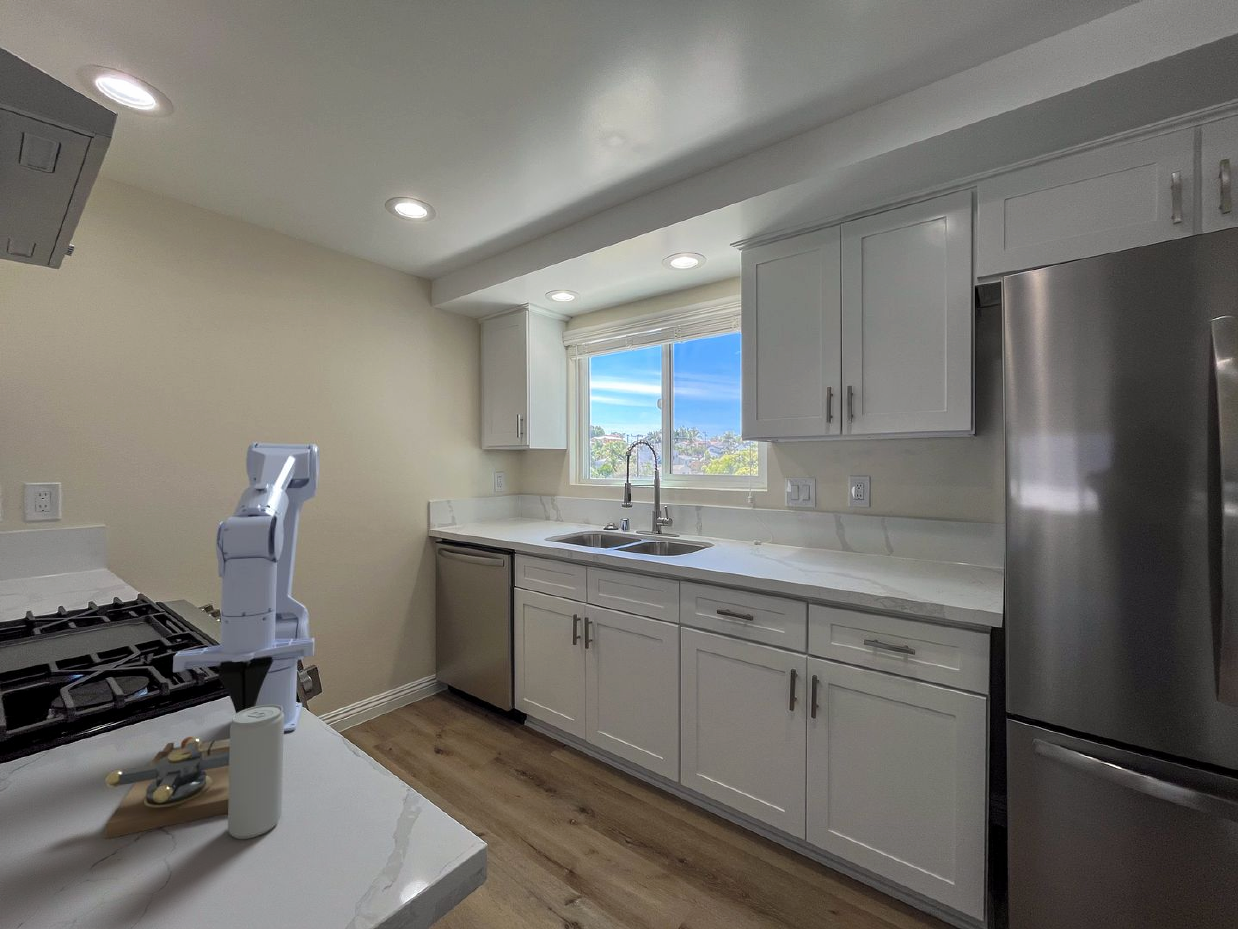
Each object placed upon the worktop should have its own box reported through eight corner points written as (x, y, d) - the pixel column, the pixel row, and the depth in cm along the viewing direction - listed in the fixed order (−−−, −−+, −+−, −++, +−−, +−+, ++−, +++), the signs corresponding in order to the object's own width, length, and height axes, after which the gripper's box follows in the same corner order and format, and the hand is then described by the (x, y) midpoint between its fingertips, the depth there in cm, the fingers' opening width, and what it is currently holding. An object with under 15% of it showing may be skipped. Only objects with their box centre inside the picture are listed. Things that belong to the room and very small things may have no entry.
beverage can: (254, 845, 55) (257, 725, 55) (215, 838, 56) (218, 721, 56) (292, 816, 59) (294, 706, 60) (255, 810, 60) (258, 702, 61)
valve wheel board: (158, 763, 70) (159, 734, 70) (268, 744, 75) (268, 717, 75) (105, 838, 55) (106, 802, 55) (245, 809, 60) (246, 775, 61)
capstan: (128, 771, 64) (129, 739, 64) (256, 749, 70) (257, 719, 70) (76, 837, 53) (78, 797, 53) (234, 804, 58) (235, 768, 58)
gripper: (166, 625, 61) (162, 746, 61) (312, 612, 67) (309, 722, 67) (184, 611, 68) (181, 720, 67) (316, 601, 74) (314, 701, 73)
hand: (245, 720), depth 68 cm, fingers closed
